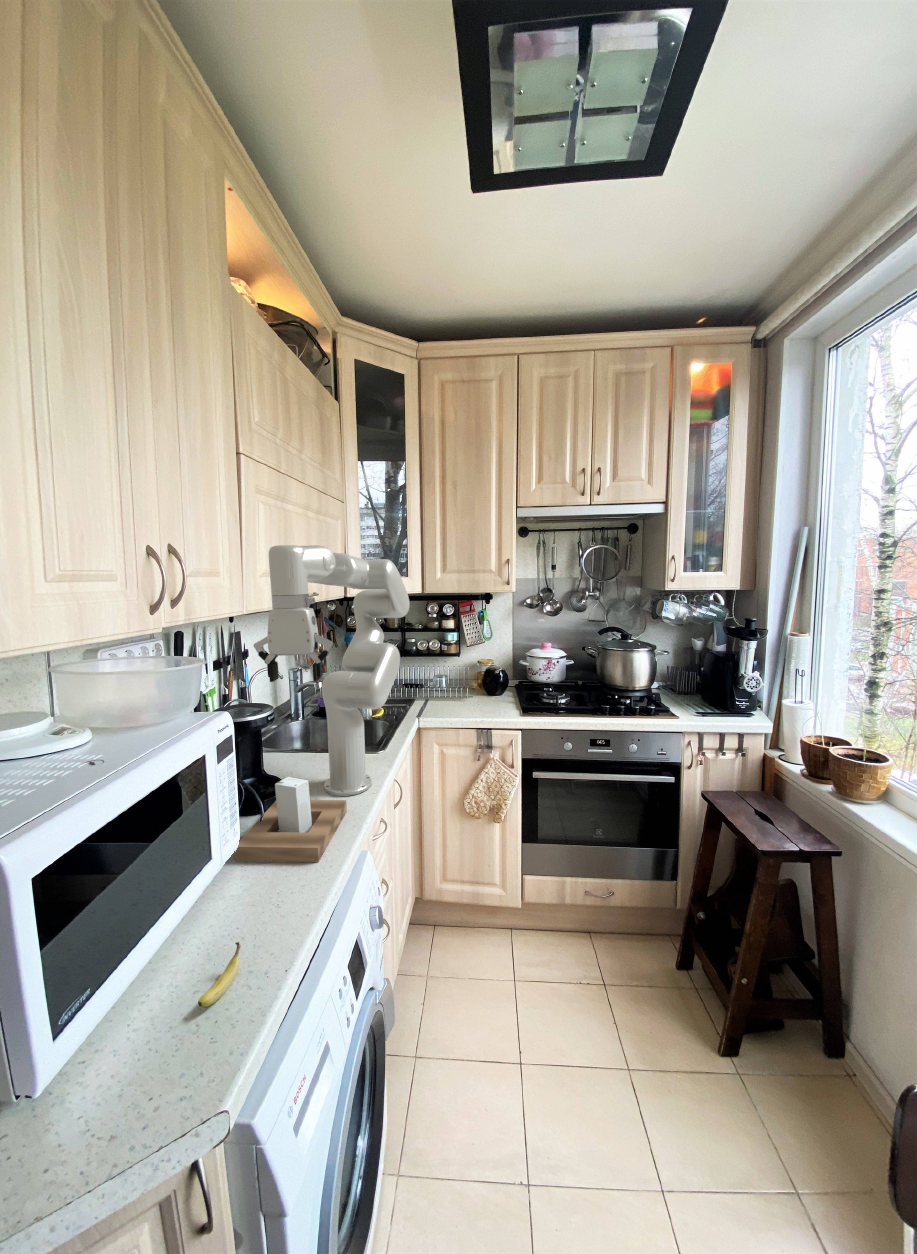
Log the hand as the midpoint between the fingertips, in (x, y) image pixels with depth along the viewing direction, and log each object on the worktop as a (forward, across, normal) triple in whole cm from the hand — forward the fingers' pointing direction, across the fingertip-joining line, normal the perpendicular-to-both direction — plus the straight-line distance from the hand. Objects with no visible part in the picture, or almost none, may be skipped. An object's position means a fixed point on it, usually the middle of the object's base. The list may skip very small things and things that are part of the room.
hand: (295, 680), depth 104 cm
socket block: (+34, 0, +5) cm, 34 cm away
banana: (+33, -4, +44) cm, 55 cm away
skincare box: (+34, +1, +5) cm, 34 cm away
